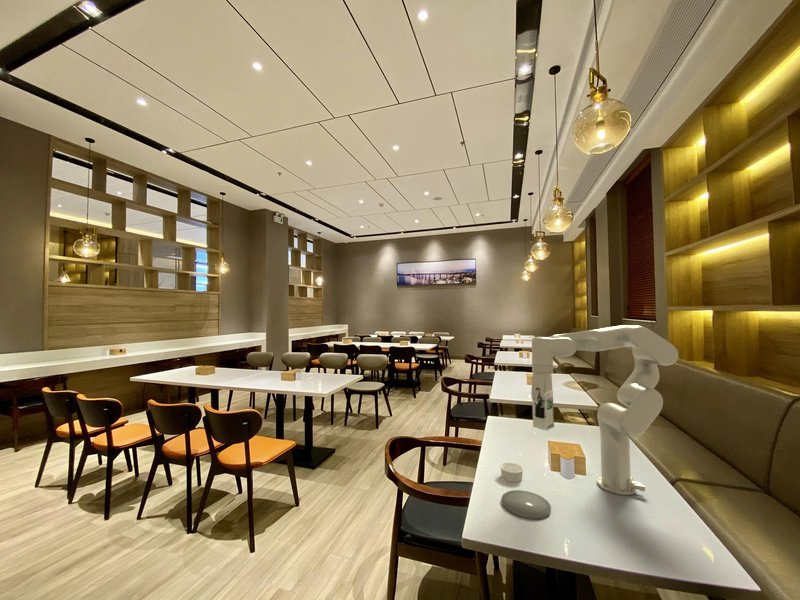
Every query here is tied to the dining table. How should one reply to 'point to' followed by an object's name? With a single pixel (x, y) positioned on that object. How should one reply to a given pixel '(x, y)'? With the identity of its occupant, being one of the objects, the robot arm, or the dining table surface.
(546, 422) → the syrup box
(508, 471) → the ramekin
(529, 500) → the grey plate
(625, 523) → the dining table surface
